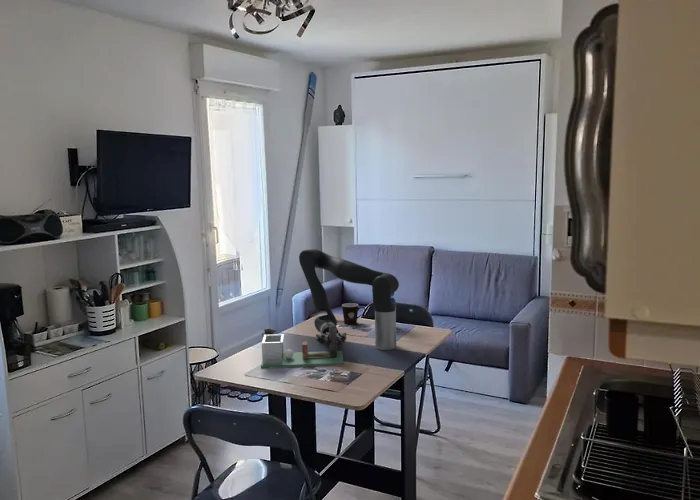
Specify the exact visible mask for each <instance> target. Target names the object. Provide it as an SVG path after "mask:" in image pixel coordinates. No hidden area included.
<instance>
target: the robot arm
mask: <svg viewBox="0 0 700 500" xmlns="http://www.w3.org/2000/svg"><path fill="white" fill-rule="evenodd" d="M298 260H299V261H298V262H299V264H300V267H301V270H302V273H303V275H304V277H305V279H306V282H307V285H308V288H309V289H310V294H311V298H312V303H313V306H314V310H315V311H316V312H325V313H326V314H324V315H321V316H317V317H315V318H314V323H313V324H314V327H315V328H316V331H318V332H319V333H320V334H315V341H317V343H319V344H325V345H326V346H327V347H329V326H330V325H336V326H337V324H338V321H337V318H336V316H335V314H334V313H333V311H332V308H331V305H330V302H329V300H328V295H327V292H326V288H325V287H324V285H323V284H322V283H321V281H320V279H319V278H318V275H317V273H316V269H322V270H325V271H328V272H330V273H331V274H332V275H333V276H335V277H336V278H337V279H339V280H343V281H345V282H347V283H351V284H357V285H358V284H359V285H369V286H371V287H372V289H371V291H372V292H371V293H372V305H373V306H374V344H375V349H377V350H381V351H389V350H390V351H391V350H396V349H397V324H396V325H395V306H396V304H394V303H392V302H391V294H392V293H394V294H395V292H396V291H398V289H399V286H400V283H399V280H398V278H397V277H396V276H394V275H393V274H391V273H388V272H382V271H378V270H375V269H371V268H368V267H367V266H363V265H361V264H358V263H355V262H353V261H350V260H347V259H343V258H341V257H336V256H332V255H330V254H328V253H326V252H324V251H322V250H319V249H317V248H311V249H309V248H308V249H303V250H302V251H300V253H299V256H298ZM346 340H347V332H343V333H340V332H339V330H338V329H337V346H340V345H342V343H345V342H346Z"/></svg>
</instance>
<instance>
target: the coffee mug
mask: <svg viewBox="0 0 700 500" xmlns="http://www.w3.org/2000/svg"><path fill="white" fill-rule="evenodd" d="M341 309H342V317H343V322H344V325H345V326H354V325H357V324H358V319H359V318H361V317H362V316H363V315H364V314H365V313H366V308H365V307H364V306H359V304H358V303H355V302H354V303H353V302H348V303H343V304H341ZM360 309H363V312H362V313H361V314H360V315H358V313H359V311H360Z"/></svg>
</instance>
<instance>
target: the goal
mask: <svg viewBox="0 0 700 500" xmlns="http://www.w3.org/2000/svg"><path fill="white" fill-rule="evenodd" d="M275 334H276V335H264V337H263V338H262V341H261V356H262V357H261V359H262V361H261V363H262V362H263V364H280V363H282V355H284V352H285V350H284V340H285V334H284V333H283V334H278V333H275Z"/></svg>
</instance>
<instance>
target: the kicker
mask: <svg viewBox="0 0 700 500" xmlns="http://www.w3.org/2000/svg"><path fill="white" fill-rule="evenodd" d="M337 330H338V326H337V325H330V326H329V346H328V347H329V350H328V351H330V353H308V352H309V351H308V341H307V340H306V341H305V340H304V341H302V346H301V348H302V349H301V350H302V351H301V352H303V359H307V358H308V357H336V356H337V351H338V342H337Z"/></svg>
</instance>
